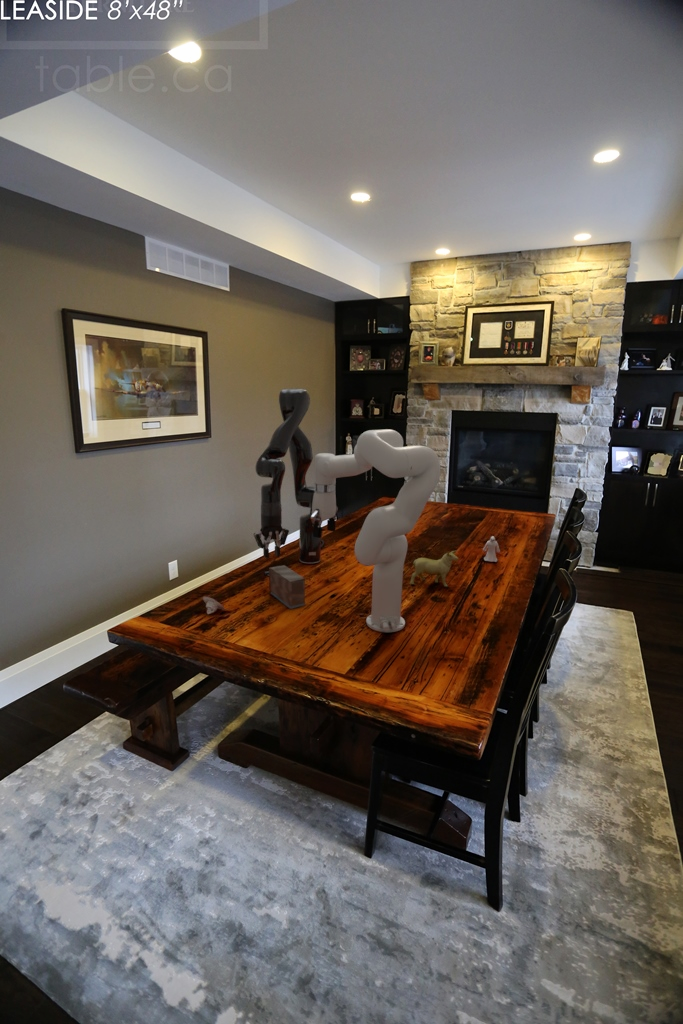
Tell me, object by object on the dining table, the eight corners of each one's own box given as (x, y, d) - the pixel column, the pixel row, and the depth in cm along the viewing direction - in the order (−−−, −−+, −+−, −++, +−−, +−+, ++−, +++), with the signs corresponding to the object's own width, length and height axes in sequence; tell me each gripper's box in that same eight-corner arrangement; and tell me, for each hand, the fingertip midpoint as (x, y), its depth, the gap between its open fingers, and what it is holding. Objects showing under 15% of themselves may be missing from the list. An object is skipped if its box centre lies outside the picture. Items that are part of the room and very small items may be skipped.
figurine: (481, 562, 222) (483, 536, 219) (482, 556, 230) (484, 531, 227) (499, 564, 220) (501, 538, 217) (499, 558, 228) (501, 533, 225)
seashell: (209, 622, 169) (193, 604, 168) (220, 611, 173) (205, 594, 172) (217, 618, 163) (201, 599, 162) (228, 607, 167) (213, 589, 166)
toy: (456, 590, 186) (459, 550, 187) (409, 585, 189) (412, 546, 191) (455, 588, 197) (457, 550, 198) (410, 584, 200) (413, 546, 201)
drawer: (263, 584, 191) (262, 563, 189) (274, 581, 194) (273, 561, 192) (287, 602, 175) (286, 580, 173) (298, 599, 178) (298, 577, 176)
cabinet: (270, 593, 185) (270, 567, 182) (284, 590, 188) (284, 565, 186) (290, 608, 172) (290, 581, 170) (304, 605, 175) (304, 578, 173)
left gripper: (283, 508, 190) (284, 551, 194) (249, 512, 182) (250, 557, 186) (293, 512, 184) (293, 556, 188) (257, 517, 176) (258, 563, 180)
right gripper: (328, 483, 188) (327, 527, 192) (302, 490, 173) (302, 538, 177) (345, 485, 184) (344, 530, 188) (321, 493, 169) (320, 541, 174)
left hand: (271, 556), depth 187 cm, fingers open, 3 cm apart
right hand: (324, 533), depth 183 cm, fingers open, 9 cm apart
